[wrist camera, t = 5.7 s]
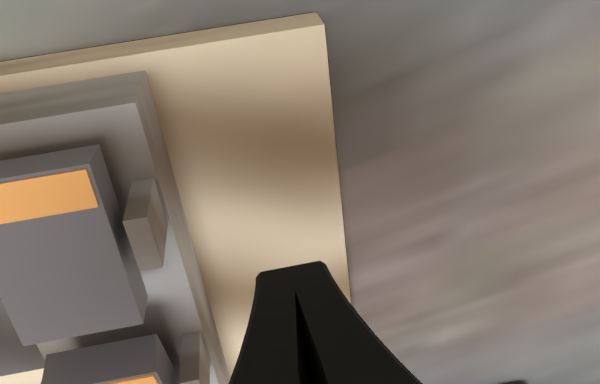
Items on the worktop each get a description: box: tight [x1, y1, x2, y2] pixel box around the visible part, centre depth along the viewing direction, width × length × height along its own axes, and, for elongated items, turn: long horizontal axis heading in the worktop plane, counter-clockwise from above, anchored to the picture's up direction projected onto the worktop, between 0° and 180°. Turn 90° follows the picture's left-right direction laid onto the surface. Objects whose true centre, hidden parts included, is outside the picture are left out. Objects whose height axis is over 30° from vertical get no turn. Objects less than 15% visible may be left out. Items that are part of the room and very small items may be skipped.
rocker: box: [0, 144, 148, 346], centre depth 14 cm, size 5×3×1 cm
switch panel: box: [0, 12, 351, 384], centre depth 20 cm, size 19×16×6 cm
